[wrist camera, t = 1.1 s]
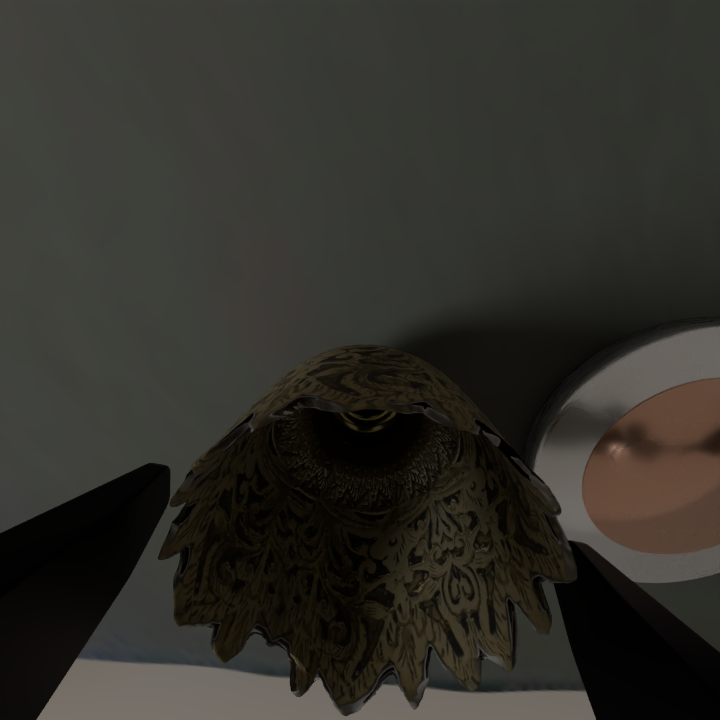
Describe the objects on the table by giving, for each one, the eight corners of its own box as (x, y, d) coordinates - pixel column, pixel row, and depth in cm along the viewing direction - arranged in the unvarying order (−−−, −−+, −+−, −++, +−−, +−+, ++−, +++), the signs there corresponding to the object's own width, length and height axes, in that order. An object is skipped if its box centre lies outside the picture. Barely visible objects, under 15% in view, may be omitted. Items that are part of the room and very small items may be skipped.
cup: (231, 401, 14) (79, 598, 7) (356, 252, 12) (330, 305, 5) (375, 504, 16) (377, 757, 8) (507, 389, 14) (665, 590, 6)
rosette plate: (894, 352, 13) (949, 366, 12) (722, 576, 17) (749, 604, 16) (591, 287, 12) (614, 295, 11) (486, 533, 16) (495, 559, 15)
